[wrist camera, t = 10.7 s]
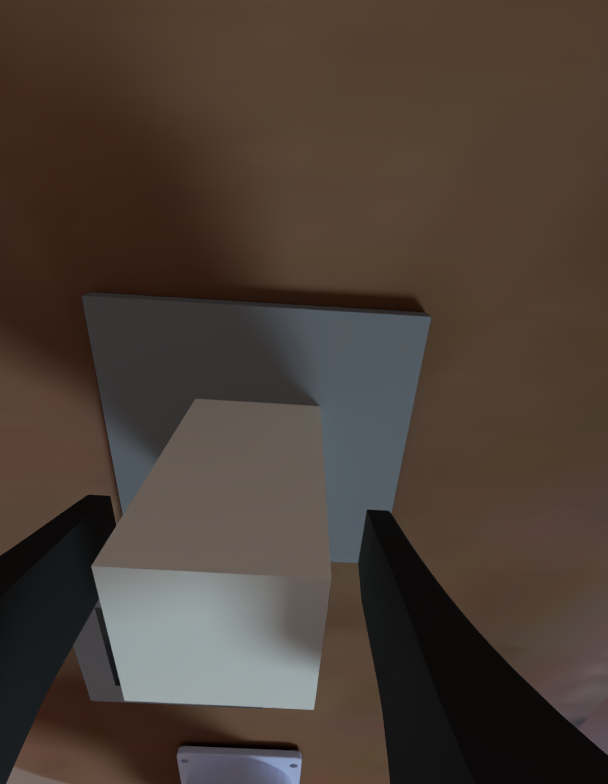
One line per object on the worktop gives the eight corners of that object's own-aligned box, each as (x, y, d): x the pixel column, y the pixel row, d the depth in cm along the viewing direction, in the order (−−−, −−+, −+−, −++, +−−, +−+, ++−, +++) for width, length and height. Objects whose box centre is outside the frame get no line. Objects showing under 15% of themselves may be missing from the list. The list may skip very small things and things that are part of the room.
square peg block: (311, 503, 15) (313, 709, 9) (202, 497, 15) (124, 700, 9) (320, 406, 13) (331, 579, 7) (195, 398, 13) (91, 565, 7)
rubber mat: (378, 553, 17) (381, 564, 17) (135, 540, 17) (129, 551, 16) (425, 312, 12) (431, 316, 12) (91, 292, 12) (81, 295, 12)
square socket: (265, 677, 21) (262, 708, 20) (104, 669, 21) (90, 700, 20) (268, 563, 17) (264, 592, 16) (72, 553, 17) (52, 582, 16)
